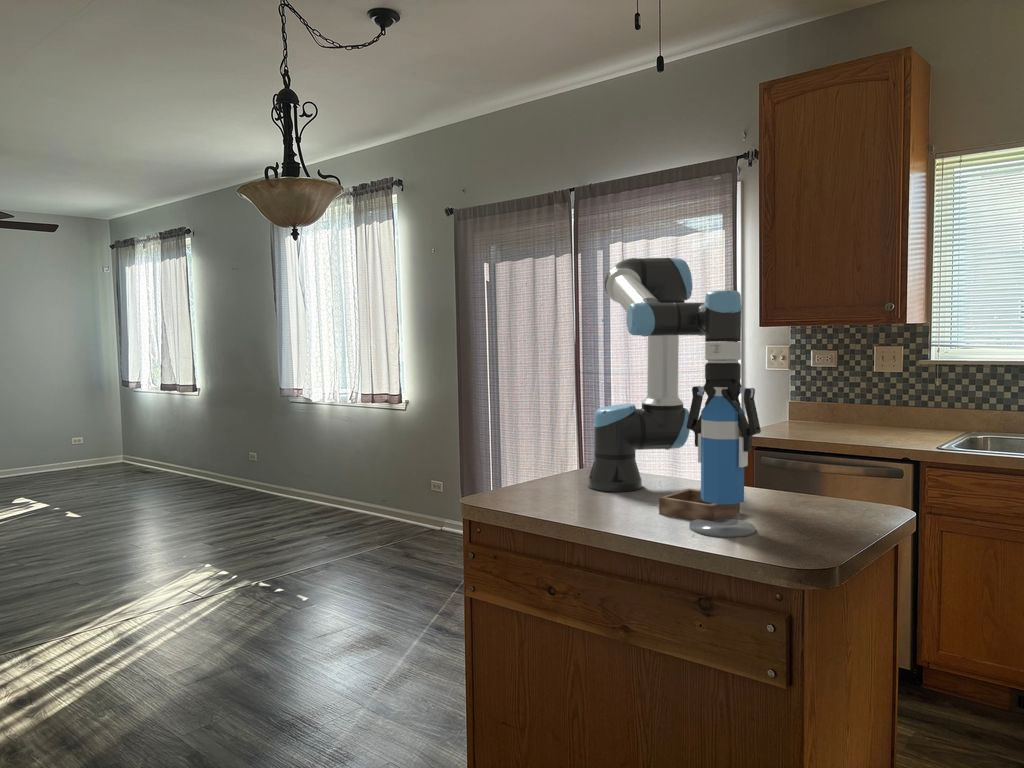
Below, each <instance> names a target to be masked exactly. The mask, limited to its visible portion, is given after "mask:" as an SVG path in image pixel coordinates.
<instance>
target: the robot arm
mask: <svg viewBox="0 0 1024 768" xmlns="http://www.w3.org/2000/svg"><path fill="white" fill-rule="evenodd" d="M603 285H604V290H605V292H606V294H607V295H608V297H609V298H610V300H612V301H613V302H615V303H617V304H620V306H621V307H622V308H623V309H624V310H625V312H626V327H627V331H628V333H629V334H630V335H632V336H639V337H640V336H642V337H647V377H646V378H647V381H646V382H647V383H646V384H647V388H646V389H647V393H646V394H647V395H646V398H645V399H643V400H642V401H641V408H637V407H636V405H635V404H633V403H622V404H613V405H609V406H607V405H606V406H603V407H600V408H598V409H596V411H595V413H594V419H593V420H594V422H593V427H594V428H593V430H594V431H593V433H594V437H593V439H594V449H593V450H594V451H593V453H594V456H593V457H594V460H593V463H592V467H591V469H590V473H589V477H588V481H587V482H588V487H589V488H590V489H591V490H597V491H600V492H601V491H603V492H631V491H637V490H640V489H641V488H642V484H643V483H642V482H643V481H642V477H641V474H640V470H639V467H638V463H637V461H636V451H637V450H642V451H644V450H666V451H667V450H672V449H674V450H675V449H680V448H682V447H683V446H685V444H686V443H687V441H688V438H689V435H690V431H692V432H694V447H695V448H697V463H700V464H701V410H702V409H701V408H702V403H703V397H704V394H706V395H707V398H706V400H705V403H704V407H705V406H706V405H707V404H708V403H709V402H710V400H711V399H712V398H713V397H714V395H715V393H716V390H715V389H714V387H728V389H723V390H722V391H721V393H722V395H723V397H724V398H725V399H726V400H727V401H728V402H729V403H730V404H731V405H732V406H733V407H735V409H736V411H737V412H738V426H739V429H740V431H741V433H742V435H741V437H739V467H744V468H745V467H748V466H749V465H748V464H749V462H748V461H749V460H748V459H749V458H748V457H749V455H748V453H749V452H751V451H752V449H753V448H752V446H753V445H752V443H753V442H752V441H753V436H755V435H758V434H761V432H762V431H761V430H762V429H761V426H760V422H759V421H760V420H759V416H758V415H759V414H758V412H757V406H756V402H755V393H756V389H755V388H754V387H743V386H742V383H741V378H742V377H741V376H742V373H741V372H742V366H741V365H742V364H741V363H740V362H739V361H740V360H741V359H742V349H741V348H742V343H741V342H742V310H743V306H742V299H741V298H742V295H741V293H740V292H739V291H737V290H732V289H731V290H723V289H722V290H712V291H711V290H710V291H708V292H707V293H706V294H705V299H704V300H705V301H704V302H686V301H688V300H689V299H690V298H691V297H692V291H693V277H692V273H691V269H690V267H689V264H688V263H687V262H686V261H685V260H684V259H682V258H676V257H644V258H641V257H639V258H638V257H632V258H627V259H623V260H621V261H619V262H617V263H616V264H614V265H612V267H610V269H609V270H608V272H607V273H606V275H605V279H604V281H603ZM680 336H700V337H701V336H702V337H703V336H704V338H705V339H704V343H705V344H704V346H705V347H704V348H705V349H704V351H705V353H704V357H705V361H707V362H706V363H705V364H704V379H705V383H704V385H702V386H701V385H697V386H695V385H694V386H692V387H691V390H692V391H691V392H692V399H691V403H690V408H689V409H687V408H686V407H684V402H683V400H682V399H680V397H679V348H680V347H679V344H680V342H679V339H680V338H679V337H680ZM740 394H741V396H742V398H743V404H744V408H745V413H746V415H743V414H740V413H739V410H740V407H741V405H742V404H741V402H740V400H739V398H738V397H739V396H740ZM735 400H736V401H737V403H733V401H735ZM741 408H742V407H741Z"/></svg>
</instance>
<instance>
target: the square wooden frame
mask: <svg viewBox="0 0 1024 768" xmlns="http://www.w3.org/2000/svg"><path fill="white" fill-rule="evenodd" d="M658 504H659V505H658V515H662V514H664V515H663V516H668V515H669V516H668V517H673V516H674V518H680V519H685V520H689V521H690V520H691V521H693V520H696V519H702V518H704V519H709V520H713V519H716V518H729V517H732V516H734V515H738V514H740V513H741V503H737V504H715V503H709V502H704V501H703V500H702V499H701V489H696V488H695V489H694V488H686V489H683V490H680V491H676V492H673V493H670V494H666V495H664V496H660V497H659V498H658Z"/></svg>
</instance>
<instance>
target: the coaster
mask: <svg viewBox="0 0 1024 768" xmlns="http://www.w3.org/2000/svg"><path fill="white" fill-rule="evenodd" d="M688 529H689V530H690V531H691V532H694V533H696V534H699V535H703V536H707V537H712V538H713V537H714V538H715V537H716V538H727V539H728V538H742V537H743V538H744V536H745V537H749V536H752V535H754V534H755V533H756V526H755V525H754V524H752V523H750V522H749V521H744V520H741V519H735V518H729V517H727V518H716V519H713V520H709V519H704V518H702V519H696V520H691V521H689V528H688Z"/></svg>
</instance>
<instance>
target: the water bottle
mask: <svg viewBox="0 0 1024 768" xmlns="http://www.w3.org/2000/svg"><path fill="white" fill-rule="evenodd" d="M714 389H715V390H716V393H715V395H714V397H713V398H712V399H711V400H710V402H709V403H708V404H707V405H706V406H705V405H704V407H703V408H702V409H701V410H700V415H701V463H700V490H701V499H702V500H703V501H704V502H709V503H715V504H737V503H740V504H742V503H744V502H745V467H739V437H741V435H742V433H741V431H740V429H739V426H738V412H737V411H736V409H735V407H733V406H732V405H731V404H730V403H729V402H728V401H727V400H726V399H725V398H724V397H723V395H722V393H721V391H722V390H723V389H728V387H714ZM733 403H737V401H736V400H735V401H733ZM739 413H740V414H743V415H745V413H746V411H745V410H743V408H742V407H740V410H739ZM745 416H746V415H745Z"/></svg>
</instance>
